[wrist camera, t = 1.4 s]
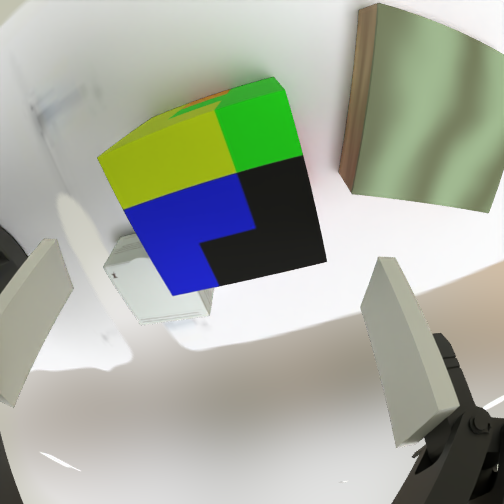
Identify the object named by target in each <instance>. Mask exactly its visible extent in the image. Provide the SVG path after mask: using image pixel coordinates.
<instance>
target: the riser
mask: <svg viewBox="0 0 504 504" xmlns="http://www.w3.org/2000/svg"><path fill="white" fill-rule="evenodd" d="M503 170H504V54H502V53H500V52H498V51H497V50H495V49H493V48H491V47H489V46H487V45H485V44H484V43H482V42H480V41H478V40H476V39H474V38H471V37H469V36H467V35H465V34H463V33H461V32H459V31H456V30H454V29H452V28H450V27H447V26H445V25H442V24H440V23H437V22H435V21H432V20H430V19H427V18H424V17H422V16H419V15H416V14H413V13H410V12H407V11H404V10H401V9H398V8H395V7H391V6H388V5H385V4H381V3H377V4H374V5H371V6H368V7H366V8H363V9H360V10H359V14H358V27H357V38H356V49H355V59H354V68H353V77H352V85H351V93H350V101H349V108H348V116H347V122H346V129H345V136H344V142H343V149H342V155H341V161H340V167H339V174H340V175H341V177H342V179H343V180H344V182H345V183H346V185H347V187H348V188H349V190H350V192H351V193H352V194H356V195H365V196H374V197H383V198H391V199H399V200H407V201H414V202H422V203H429V204H436V205H442V206H449V207H455V208H461V209H467V210H473V211H479V212H484V213H489V211H490V208H491V206H492V203H493V200H494V197H495V194H496V192H497V189H498V186H499V182H500V179H501V176H502V173H503Z"/></svg>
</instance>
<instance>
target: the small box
mask: <svg viewBox="0 0 504 504" xmlns="http://www.w3.org/2000/svg"><path fill="white" fill-rule="evenodd" d="M103 268H104V269H105V271H106V273H107V275H108V277H109V278H110V280H111V282H112V283H113V285H114V286H115V288H116V289H117V291H118V292H119V294H120V295H121V297H122V298H123V300H124V301H125V303H126V304H127V306H128V307H129V309H130V310H131V312H132V313H133V315H134V316H135V318H136V319H137V321H138V322H139V324H140V325H147V324H155V323H162V322H170V321H177V320H184V319H191V318H199V317H206V316H210V311H211V304H212V298H213V291H214V288H209V289H205V290H200V291H195V292H191V293H186V294H181V295H176V296H172V295H171V293H170V291H169V290H168V288H167V286H166V285H165V283H164V281H163V280H162V278H161V276H160V275H159V273H158V271H157V270H156V268H155V266H154V264H153V263H152V261H151V259H150V258H149V256H148V254H147V252H146V251H145V249H144V247H143V245H142V244H141V242H140V240H139V238H138V236H137V235H136V233H135V234H131V235H127V236H123V237H121V238H120V239H119V241H118V242H117V244H116V246H115V247H114V249H113V251H112V252H111V254H110V256H109V258H108V259H107V261H106V263H105V265H104V266H103Z"/></svg>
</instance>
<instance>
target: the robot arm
mask: <svg viewBox="0 0 504 504" xmlns="http://www.w3.org/2000/svg"><path fill="white" fill-rule="evenodd" d="M73 289H74V288H73V285H72V282H71V280H70V277H69V274H68V271H67V268H66V265H65V263H64V260H63V257H62V254H61V251H60V247H59V244H58V241H57V239H43V240H42V242H41V243H40V244H39V245H38V246H37V247H36V249H35V250H34V251H33V252H32V253H31V255H30V256H29V257H28V258H27V256H26V254H25V253H24V251H23V250H22V249H21V247H20V246H19V245H18V244H17V242H16V241H15V240H14V239H13V238H12V237H11V236H10V235H9V234H8V233H7V232H6V231H5V230H3V229H2V228H1V227H0V402H2V403H4V404H7V405H9V406H11V407H13V408H14V407H15V404H16V402H17V399H18V397H19V395H20V392H21V390H22V388H23V385H24V383H25V381H26V379H27V376H28V374H29V372H30V370H31V368H32V366H33V364H34V361H35V359H36V357H37V355H38V353H39V351H40V349H41V347H42V345H43V343H44V341H45V339H46V337H47V335H48V334H49V332H50V330H51V328H52V326H53V324H54V322H55V320H56V319H57V317H58V315H59V313H60V311H61V310H62V308H63V306H64V304H65V303H66V301H67V299H68V297H69V296H70V294H71V292H72V291H73ZM360 308H361V311H362V315H363V318H364V321H365V325H366V328H367V331H368V335H369V338H370V342H371V345H372V349H373V352H374V356H375V360H376V363H377V367H378V371H379V375H380V379H381V383H382V387H383V391H384V395H385V399H386V403H387V408H388V412H389V416H390V421H391V425H392V430H393V435H394V439H395V444H396V448H400V447H405V446H410V445H415V444H417V443H418V442H419V441H420V440H422V439H423V438H425V442H426V445H424V446H423V447H422V448H421V449H419V450H418V451H416V452H415V454H414V455H413V456H412V457H413V458H415V457H416V456H418V455H419V457H418V458H417V460H416V462H415V464H414V466H413V468H412V470H411V471H410V473H409V475H408V477H407V479H406V480H405V482H404V484H403V486H402V487H401V489H400V491H399V492H398V494H397V496H396V497H395V499H394V500H393V502H392V504H504V419H503V418H492V417H490V415H489V413H488V412H487V411H486V410H484V409H483V408H480V407H477V406H476V405H475V403H474V401H473V398H472V396H471V393H470V390H469V387H468V385H467V382H466V380H465V377H464V375H463V372H462V370H461V368H460V365H459V362H458V360H457V358H455V357H456V356H455V353H454V351H453V349H452V346H451V344H450V343H449V342H448V340H447V339H446V338H445V337H444V336H443V335H442V334H441V333H435V334H432V333H431V330H430V328H429V326H428V323H427V321H426V319H425V317H424V315H423V313H422V310H421V308H420V306H419V304H418V302H417V300H416V298H415V296H414V293H413V291H412V289H411V287H410V285H409V283H408V281H407V279H406V277H405V275H404V274H403V272H402V270H401V268H400V266H399V264H398V262H397V260H396V258H393V257H378V259H377V262H376V265H375V268H374V271H373V274H372V276H371V279H370V282H369V285H368V288H367V290H366V293H365V296H364V298H363V301H362V304H361V306H360ZM497 464H499V465H498V471H497ZM0 504H23V502H22V499H21V497H20V494H19V491H18V489H17V486H16V483H15V481H14V478H13V475H12V472H11V469H10V465H9V462H8V459H7V456H6V452H5V449H4V445H3V441H2V437H1V434H0Z"/></svg>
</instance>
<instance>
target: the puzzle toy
mask: <svg viewBox="0 0 504 504" xmlns="http://www.w3.org/2000/svg"><path fill="white" fill-rule="evenodd" d="M97 159H98V161H99V163H100V165H101V167H102V169H103V171H104V173H105V175H106V177H107V179H108V181H109V183H110V185H111V187H112V189H113V191H114V193H115V195H116V197H117V199H118V201H119V203H120V205H121V207H122V209H123V210H124V212H125V214H126V216H127V218H128V220H129V222H130V224H131V225H132V227H133V229H134V231H135V233H136V235H137V236H138V238H139V240H140V242H141V244H142V245H143V247H144V249H145V251H146V252H147V254H148V256H149V258H150V259H151V261H152V263H153V264H154V266H155V268H156V270H157V271H158V273H159V275H160V276H161V278H162V280H163V281H164V283H165V285H166V286H167V288H168V290H169V291H170V293H171V295H172V296H176V295H181V294H186V293H191V292H195V291H200V290H205V289H209V288H214V287H219V286H223V285H228V284H233V283H237V282H242V281H246V280H251V279H255V278H259V277H264V276H268V275H273V274H277V273H281V272H286V271H290V270H294V269H299V268H303V267H307V266H311V265H316V264H320V263H324V262H327V259H326V254H325V249H324V244H323V239H322V234H321V230H320V225H319V220H318V216H317V211H316V207H315V203H314V198H313V194H312V190H311V185H310V181H309V177H308V173H307V169H306V165H305V161H304V157H303V153H302V149H301V146H300V142H299V138H298V134H297V131H296V127H295V123H294V120H293V116H292V113H291V109H290V106H289V102H288V99H287V95H286V92H285V89H284V88H283V87H282V86H281V85H280V84H279V82H278V81H277V80H276V79H275V78H274V77H271V78H267V79H264V80H260V81H256V82H253V83H249V84H246V85H242V86H239V87H236V88H232V89H229V90H226V91H223V92H220V93H217V94H214V95H211V96H208V97H205V98H202V99H199V100H196V101H193V102H191V103H188V104H185V105H183V106H180V107H177V108H175V109H172V110H170V111H167V112H165V113H162V114H160V115H157V116H155V117H152V118H151V119H149V120H148V121H146V122H145V123H143V124H142V125H141V126H139V127H138V128H136V129H135V130H133V131H132V132H131V133H129V134H128V135H126V136H125V137H124V138H122V139H121V140H120V141H118V142H117V143H116V144H114V145H113V146H112V147H110V148H109V149H108V150H106V151H105V152H104V153H102V154H101V155H100V156H99V157H97Z"/></svg>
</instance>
